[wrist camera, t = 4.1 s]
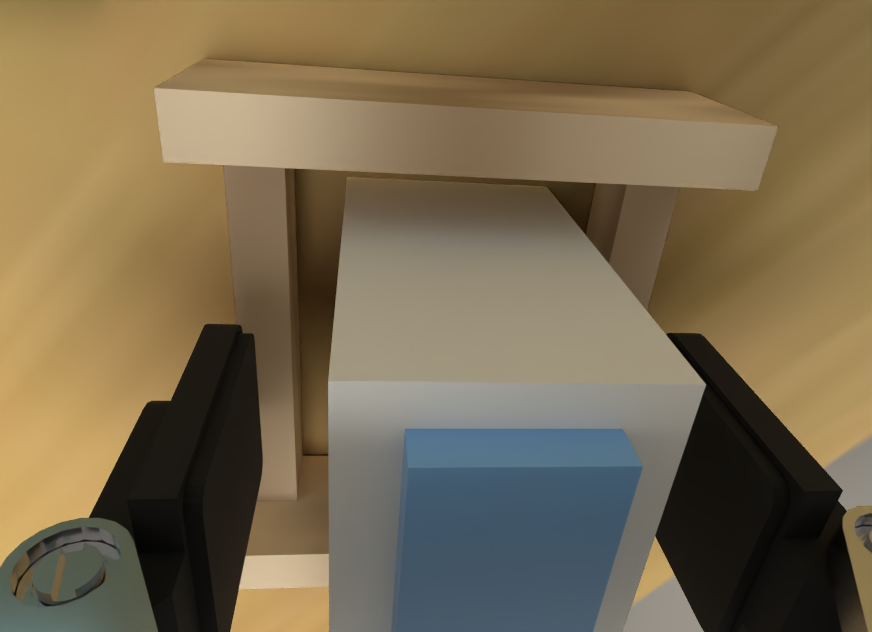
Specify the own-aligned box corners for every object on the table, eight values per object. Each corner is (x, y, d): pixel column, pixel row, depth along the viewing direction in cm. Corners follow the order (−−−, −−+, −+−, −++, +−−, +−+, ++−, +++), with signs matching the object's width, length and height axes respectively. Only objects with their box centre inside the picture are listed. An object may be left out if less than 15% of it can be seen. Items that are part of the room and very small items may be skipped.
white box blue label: (546, 185, 13) (734, 419, 6) (507, 421, 16) (609, 752, 9) (347, 176, 12) (324, 417, 6) (344, 421, 15) (327, 770, 9)
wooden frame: (690, 91, 12) (778, 126, 10) (590, 483, 17) (630, 578, 14) (203, 58, 11) (153, 87, 9) (242, 486, 16) (218, 589, 13)
